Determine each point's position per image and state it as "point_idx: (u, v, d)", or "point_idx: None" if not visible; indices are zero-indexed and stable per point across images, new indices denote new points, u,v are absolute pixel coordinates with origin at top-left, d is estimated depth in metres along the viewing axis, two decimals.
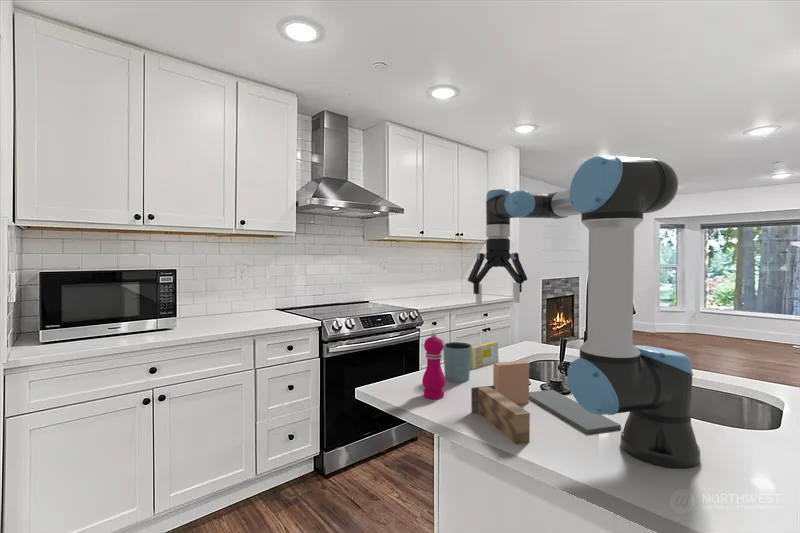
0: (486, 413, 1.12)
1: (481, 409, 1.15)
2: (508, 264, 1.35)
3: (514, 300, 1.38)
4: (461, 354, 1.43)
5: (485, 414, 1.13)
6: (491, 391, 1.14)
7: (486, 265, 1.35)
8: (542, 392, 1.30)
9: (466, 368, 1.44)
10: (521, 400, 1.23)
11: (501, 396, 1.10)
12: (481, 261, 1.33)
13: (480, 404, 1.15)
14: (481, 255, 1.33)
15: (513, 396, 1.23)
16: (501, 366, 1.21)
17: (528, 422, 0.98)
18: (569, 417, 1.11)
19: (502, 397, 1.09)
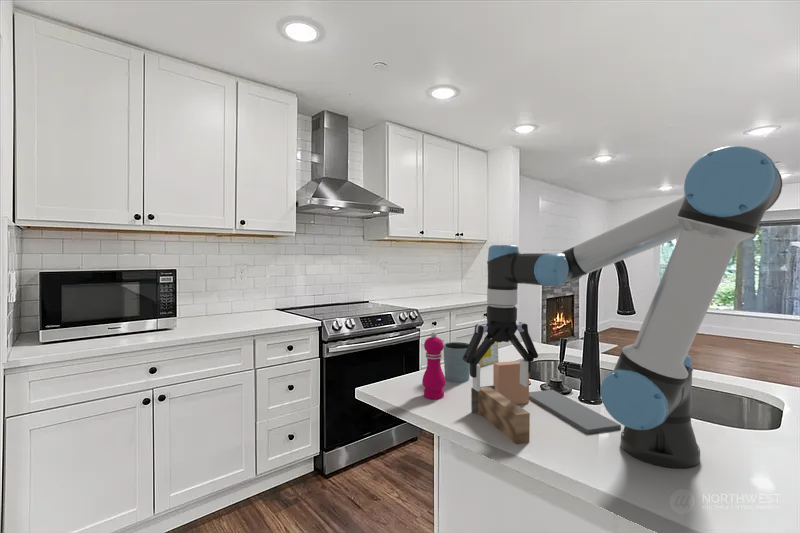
0: (486, 413, 1.12)
1: (481, 409, 1.15)
2: (514, 339, 1.06)
3: (521, 381, 1.10)
4: (461, 354, 1.43)
5: (485, 414, 1.13)
6: (491, 391, 1.14)
7: (486, 340, 1.06)
8: (542, 392, 1.30)
9: (466, 368, 1.44)
10: (521, 400, 1.23)
11: (501, 396, 1.10)
12: (480, 336, 1.04)
13: (480, 404, 1.15)
14: (480, 329, 1.04)
15: (513, 396, 1.23)
16: (501, 366, 1.21)
17: (528, 422, 0.98)
18: (569, 417, 1.11)
19: (502, 397, 1.09)
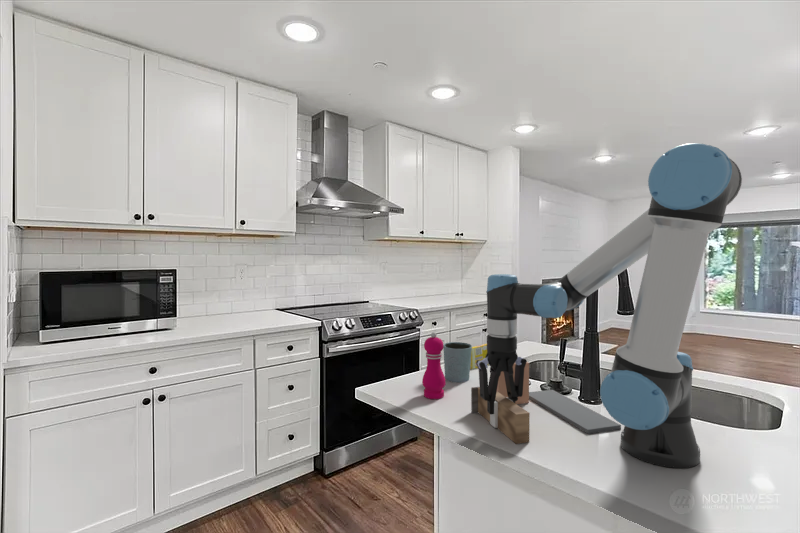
0: (486, 413, 1.12)
1: (481, 409, 1.15)
2: (510, 371, 1.06)
3: None
4: (461, 354, 1.43)
5: (485, 414, 1.13)
6: None
7: (492, 373, 1.07)
8: (542, 392, 1.30)
9: (466, 368, 1.44)
10: (521, 400, 1.23)
11: (501, 396, 1.10)
12: (485, 372, 1.05)
13: (480, 404, 1.15)
14: (482, 366, 1.04)
15: None
16: None
17: (528, 422, 0.98)
18: (569, 417, 1.11)
19: (502, 397, 1.09)
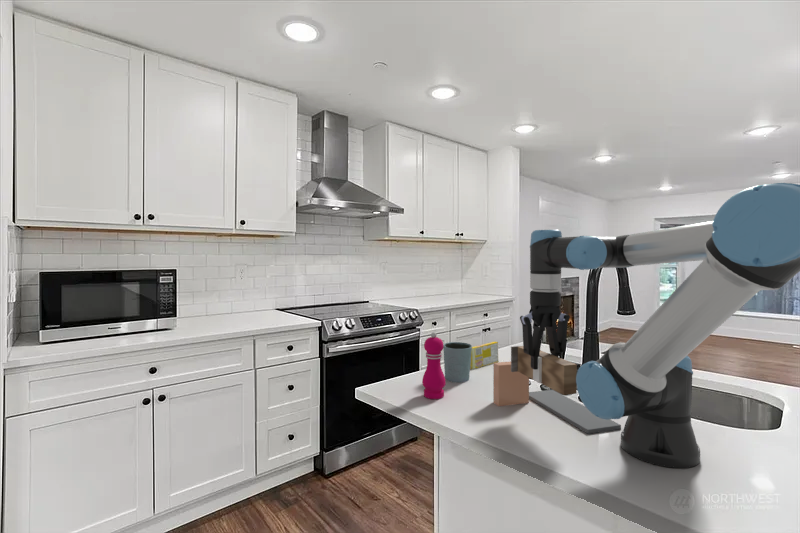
0: (527, 370, 1.12)
1: (521, 367, 1.15)
2: (554, 326, 1.06)
3: None
4: (461, 354, 1.42)
5: (526, 372, 1.13)
6: None
7: (536, 329, 1.07)
8: (542, 392, 1.30)
9: (466, 368, 1.44)
10: (521, 400, 1.23)
11: (543, 352, 1.10)
12: (529, 326, 1.05)
13: (520, 362, 1.16)
14: (526, 320, 1.04)
15: (513, 396, 1.23)
16: (501, 366, 1.21)
17: (575, 373, 0.98)
18: (569, 417, 1.11)
19: (545, 353, 1.09)
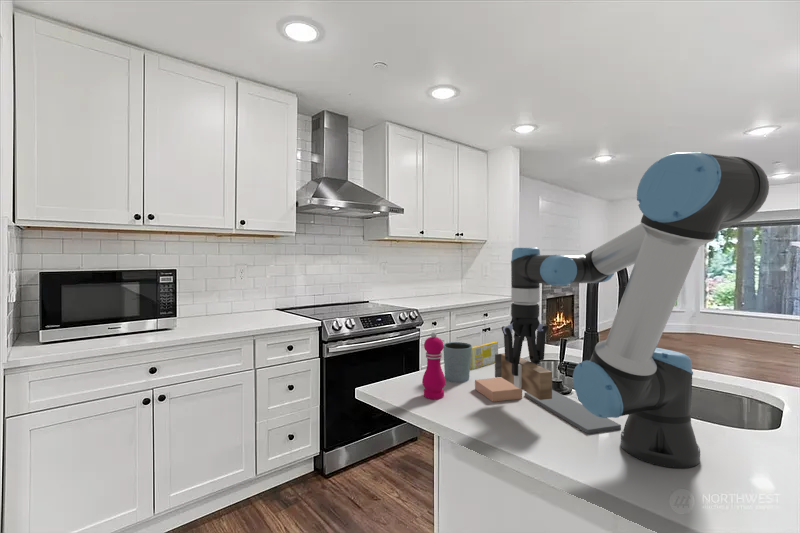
0: (509, 376, 1.21)
1: (504, 373, 1.24)
2: (533, 336, 1.15)
3: None
4: (461, 354, 1.43)
5: (508, 377, 1.22)
6: None
7: (516, 338, 1.16)
8: None
9: (466, 368, 1.44)
10: (512, 388, 1.28)
11: (524, 360, 1.19)
12: (510, 336, 1.14)
13: (503, 369, 1.25)
14: (507, 331, 1.14)
15: (503, 387, 1.28)
16: (478, 380, 1.36)
17: (550, 380, 1.08)
18: (569, 417, 1.11)
19: (525, 360, 1.18)
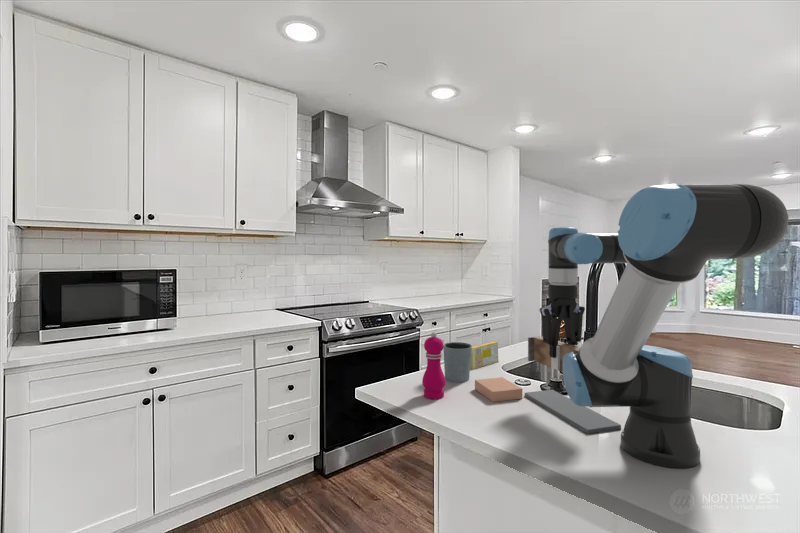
0: (544, 359, 1.20)
1: (538, 357, 1.23)
2: (571, 317, 1.14)
3: None
4: (461, 354, 1.43)
5: (543, 360, 1.20)
6: None
7: (554, 320, 1.15)
8: (542, 392, 1.30)
9: (466, 368, 1.44)
10: (512, 388, 1.28)
11: (560, 342, 1.18)
12: (549, 317, 1.13)
13: (537, 352, 1.23)
14: (546, 312, 1.12)
15: (503, 387, 1.28)
16: (478, 380, 1.36)
17: None
18: (569, 417, 1.11)
19: (561, 342, 1.17)
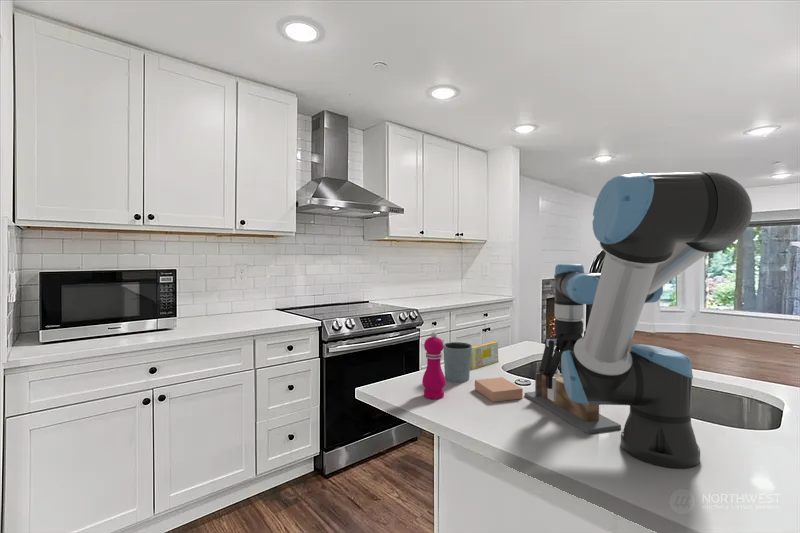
0: None
1: (545, 392, 1.25)
2: None
3: None
4: (461, 354, 1.43)
5: None
6: (555, 376, 1.24)
7: (557, 352, 1.16)
8: None
9: (466, 368, 1.44)
10: (512, 388, 1.28)
11: None
12: (552, 350, 1.14)
13: (544, 388, 1.25)
14: (551, 343, 1.14)
15: (503, 387, 1.28)
16: (477, 380, 1.36)
17: None
18: (569, 417, 1.11)
19: None
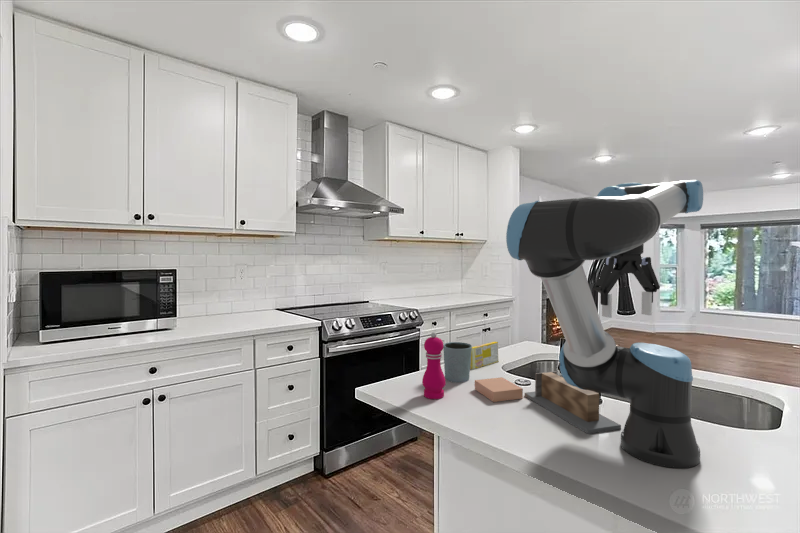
0: (551, 396, 1.22)
1: (545, 392, 1.25)
2: (640, 270, 1.16)
3: (644, 311, 1.19)
4: (461, 354, 1.43)
5: (550, 397, 1.23)
6: (555, 376, 1.24)
7: (615, 271, 1.16)
8: None
9: (466, 368, 1.44)
10: (513, 388, 1.28)
11: None
12: (611, 267, 1.14)
13: (544, 388, 1.25)
14: (611, 260, 1.14)
15: (503, 387, 1.28)
16: (477, 380, 1.36)
17: (597, 402, 1.08)
18: (569, 417, 1.11)
19: None
